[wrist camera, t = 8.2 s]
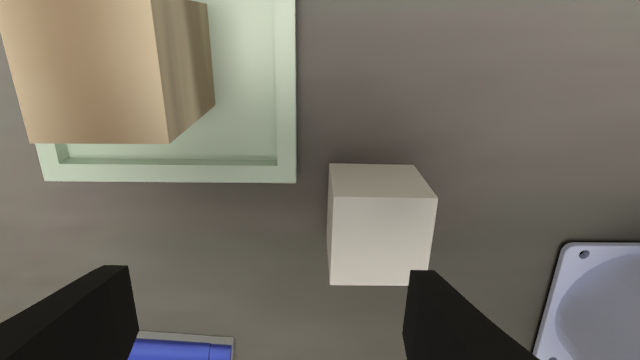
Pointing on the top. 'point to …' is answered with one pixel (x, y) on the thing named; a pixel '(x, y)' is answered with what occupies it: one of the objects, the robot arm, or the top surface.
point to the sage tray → (215, 112)
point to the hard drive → (181, 347)
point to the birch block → (108, 68)
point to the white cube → (378, 223)
